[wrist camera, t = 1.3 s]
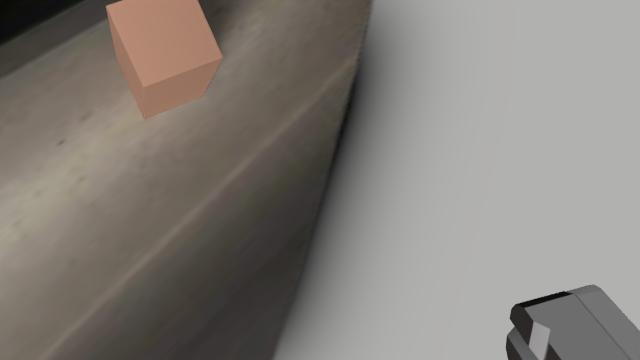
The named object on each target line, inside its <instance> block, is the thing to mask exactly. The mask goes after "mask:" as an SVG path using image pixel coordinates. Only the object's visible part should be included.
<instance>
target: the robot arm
mask: <svg viewBox="0 0 640 360" xmlns="http://www.w3.org/2000/svg"><path fill="white" fill-rule="evenodd" d="M510 320H511V321H512V323H513V324H514V326H515V327H514V328H513V329H512V330H511V331H510V332H509V334H508V335H507V342H506V351H507V356H508V360H640V331H639V330H638V329H637V328H636V326H635V325H634V324H633V323H632V322H631V321H630V320H629V319H628V318H627V317H626V316H625V314H624V313H623V312H622V311H621V310H620V309H619V308H618V307H617V306H616V304H615V303H614V302H613V301H612V300H611V299H610V298H609V297H608V296H607V295H606V293H605V292H604V291H603V290H602V289H601V288H599V287H597V286H596V285H588V286H585V287H581V288H577V289H574V290H570V291H567V292H565V291H563V292H559V293H555V294H551V295H548V296H544V297H540V298H537V299H533V300H529V301H525V302H522V303H519V304H515V306H514V307H513V308H512V309H511V315H510Z"/></svg>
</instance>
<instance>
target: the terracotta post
mask: <svg viewBox="0 0 640 360" xmlns="http://www.w3.org/2000/svg"><path fill="white" fill-rule="evenodd" d="M106 9H107V14H108V19H109V24H110V29H111V34H112V39H113V44H114V49H115V54H116V59H117V62H118V64H119V66H120V68H121V70H122V72H123V75H124V77H125V79H126V81H127V83H128V85H129V88H130V90H131V92H132V94H133V96H134V98H135V101H136V103H137V105H138V107H139V109H140V111H141V113H142V116H143V118H144V119H146V118H149V117H151V116H154V115H156V114H159V113H161V112H164V111H166V110H169V109H171V108H174V107H176V106H179V105H181V104H184V103H187V102H189V101H192V100H194V99H197V98H199V97H202V96H203V95H204V93H205V91H206V90H207V88H208V86H209V84H210V82H211V80H212V78H213V76H214V74H215V72H216V70H217V68H218V66H219V64H220V62H221V60H222V58H223V56H222V54H221V51H220V49H219V47H218V45H217V43H216V40H215V38H214V36H213V34H212V31H211V29H210V27H209V25H208V22H207V20H206V18H205V16H204V13H203V11H202V9H201V7H200V5H199V2H198V0H123V1H120V2H117V3H114V4H111V5H108V6H106Z"/></svg>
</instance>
